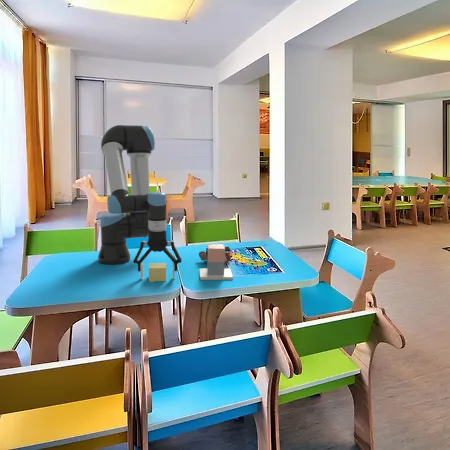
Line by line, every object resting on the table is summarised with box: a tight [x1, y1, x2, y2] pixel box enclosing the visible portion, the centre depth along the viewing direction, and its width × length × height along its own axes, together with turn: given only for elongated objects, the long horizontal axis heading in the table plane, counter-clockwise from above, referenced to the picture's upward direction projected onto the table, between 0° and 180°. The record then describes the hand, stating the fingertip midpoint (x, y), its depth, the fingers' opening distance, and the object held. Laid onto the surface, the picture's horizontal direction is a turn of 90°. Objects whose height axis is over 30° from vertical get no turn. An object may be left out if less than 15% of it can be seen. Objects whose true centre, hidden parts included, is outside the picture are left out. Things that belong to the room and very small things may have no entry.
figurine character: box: [198, 246, 232, 265], centre depth 197 cm, size 7×8×15 cm
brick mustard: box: [148, 262, 167, 283], centre depth 173 cm, size 7×7×6 cm
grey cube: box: [206, 257, 225, 275], centre depth 179 cm, size 7×7×6 cm
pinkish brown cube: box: [207, 243, 226, 262], centre depth 177 cm, size 7×7×6 cm
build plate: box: [198, 267, 234, 281], centre depth 179 cm, size 14×12×1 cm
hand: (157, 278), depth 173 cm, fingers open, 13 cm apart
